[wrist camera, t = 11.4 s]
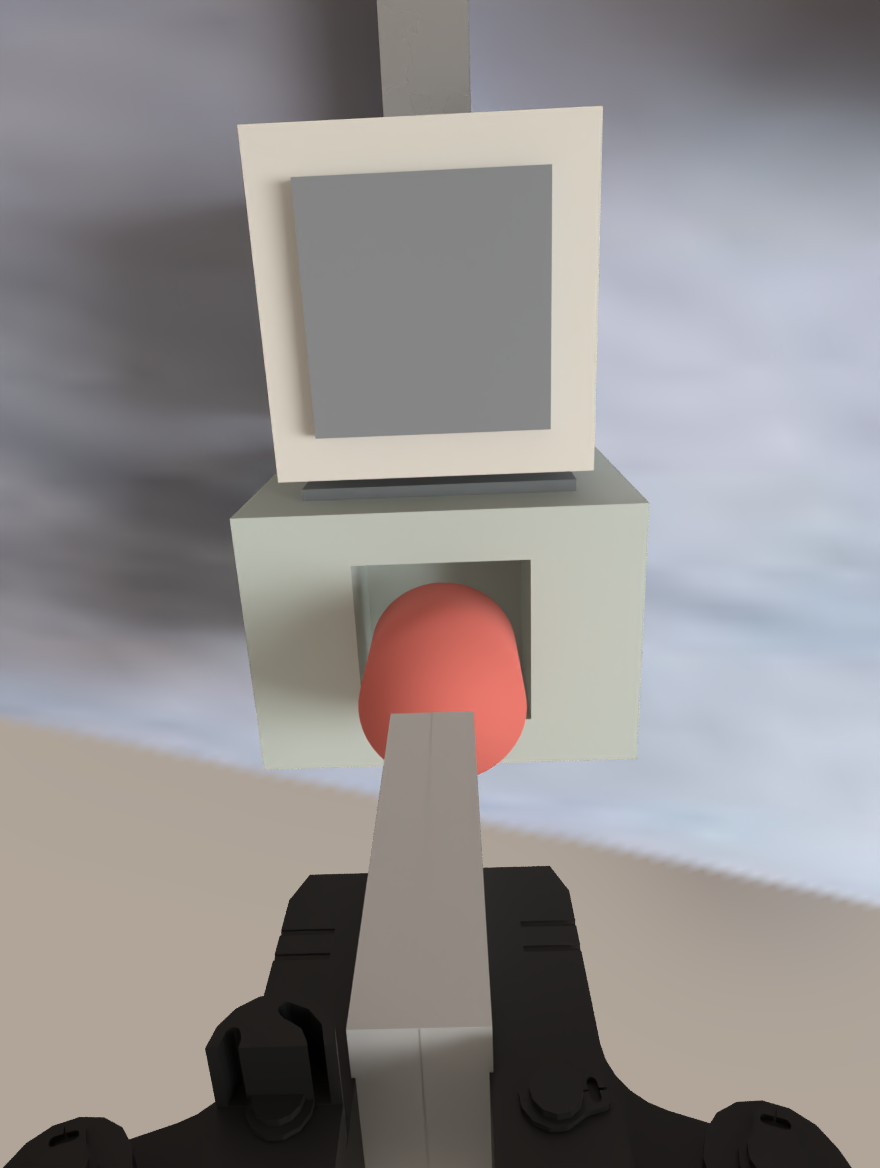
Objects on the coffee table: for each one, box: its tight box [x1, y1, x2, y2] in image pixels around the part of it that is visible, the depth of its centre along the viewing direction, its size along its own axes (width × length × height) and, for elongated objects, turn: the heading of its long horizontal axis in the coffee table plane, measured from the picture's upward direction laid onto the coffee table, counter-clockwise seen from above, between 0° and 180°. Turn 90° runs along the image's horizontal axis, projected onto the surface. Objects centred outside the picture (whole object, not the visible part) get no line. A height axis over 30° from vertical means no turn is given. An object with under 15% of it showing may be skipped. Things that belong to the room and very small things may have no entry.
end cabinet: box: [230, 447, 650, 770], centre depth 24 cm, size 7×10×9 cm
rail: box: [377, 0, 471, 117], centre depth 23 cm, size 20×2×2 cm, turn 2°
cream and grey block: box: [237, 106, 603, 483], centre depth 20 cm, size 7×7×9 cm
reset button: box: [358, 582, 527, 775], centre depth 18 cm, size 4×4×3 cm
